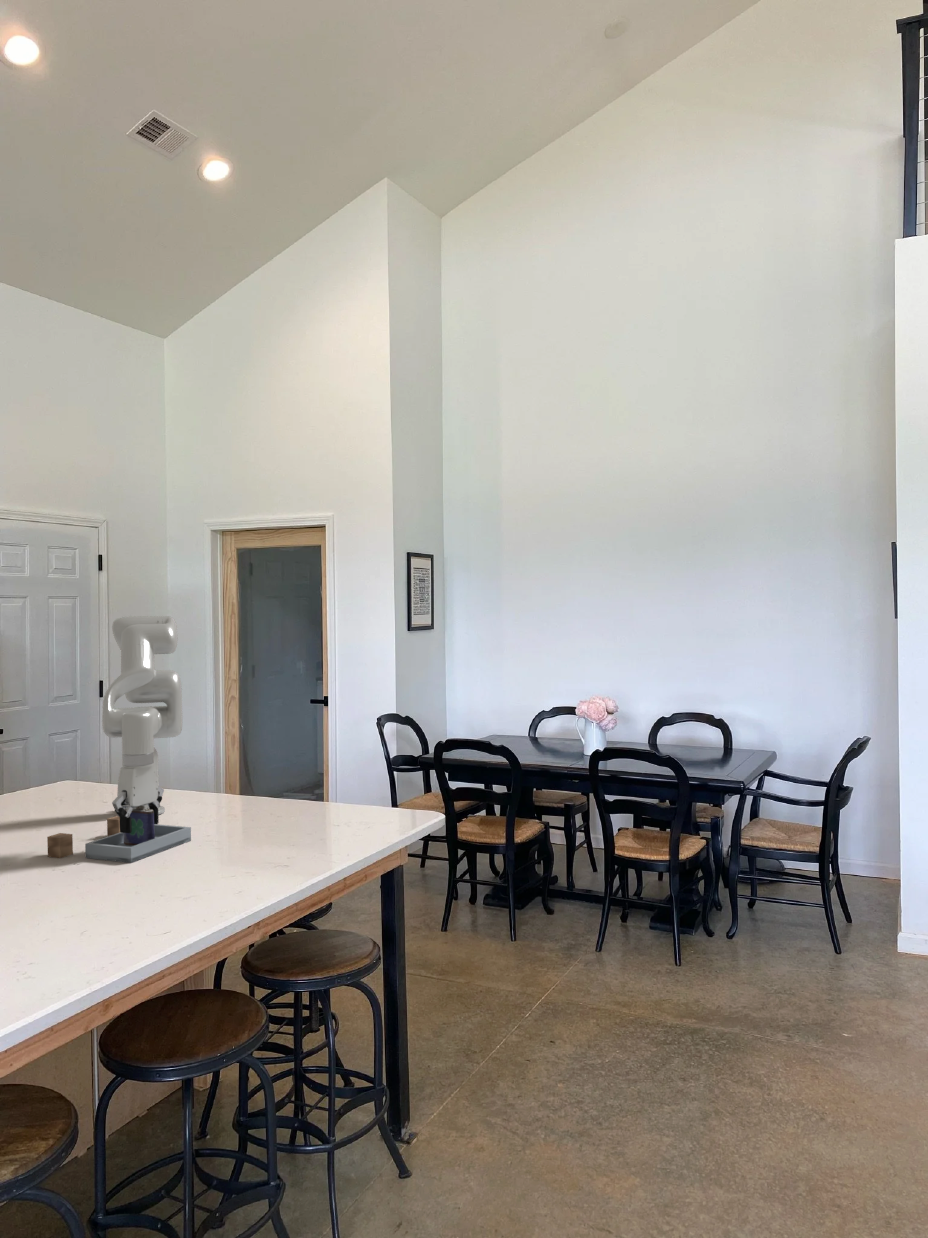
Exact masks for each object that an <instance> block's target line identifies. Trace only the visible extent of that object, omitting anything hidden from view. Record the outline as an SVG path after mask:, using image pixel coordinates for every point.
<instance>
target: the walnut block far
mask: <svg viewBox="0 0 928 1238" xmlns="http://www.w3.org/2000/svg"><path fill="white" fill-rule="evenodd" d="M106 826H107V827H106V829H107V830H106V831H107V832H106V833H107V835H106V837H107V836H111V835H114V834H117V833H120V817H118V815H115V816H112V817H108V818H106Z"/></svg>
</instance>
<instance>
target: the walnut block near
mask: <svg viewBox="0 0 928 1238" xmlns="http://www.w3.org/2000/svg"><path fill="white" fill-rule="evenodd" d="M73 839H74V838H73V833H67V832H66V833H65V832H58V833H55V834H52V835H49V836H47V841H46V842H47V858H55V859H63V858H65V857H68V856H71V855H73V854H74V850H73V848H74V847H73V846H74V845H73V841H74V840H73Z"/></svg>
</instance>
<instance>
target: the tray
mask: <svg viewBox="0 0 928 1238" xmlns="http://www.w3.org/2000/svg"><path fill="white" fill-rule="evenodd" d="M154 832H155V839H152V840H149V841H146V842H143V843H140V844H138V845H135V846H132V845H125V844H124V833H121V832H120V833H117V834H114V835H111V836H107V835H106V836H105V837H102V838H99V839H96V840H93V841H90V842H86V843H85V847H84V851H85V852H84V853H85V859H92V860H101V861H109V862H118V863H119V862H120V863H128V864H132V863H135V862H139V861H140V860H143V859H146V858H148V857H151V856H154V855H156V854H159V853H162V852H165V851H167V850H170V849H173V848H176V847H178V846H181V845H183V844H186V843H189V842H191V841H192V827H191V826H181V825H180V826H179V825H170V824H159V823H158V824H154Z"/></svg>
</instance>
